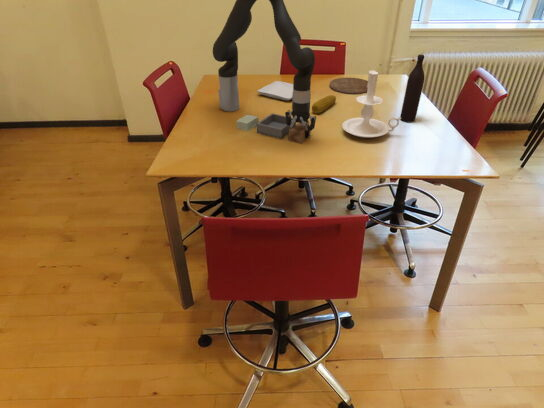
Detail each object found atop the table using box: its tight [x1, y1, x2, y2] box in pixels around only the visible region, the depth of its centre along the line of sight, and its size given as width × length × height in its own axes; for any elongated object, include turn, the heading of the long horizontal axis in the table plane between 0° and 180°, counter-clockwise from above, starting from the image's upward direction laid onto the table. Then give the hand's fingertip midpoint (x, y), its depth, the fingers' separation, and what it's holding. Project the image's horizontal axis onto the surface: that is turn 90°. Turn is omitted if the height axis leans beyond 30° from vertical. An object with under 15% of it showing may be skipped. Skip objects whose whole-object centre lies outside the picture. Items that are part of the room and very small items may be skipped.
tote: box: [255, 112, 297, 140], centre depth 174 cm, size 13×14×4 cm
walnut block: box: [288, 123, 312, 145], centre depth 167 cm, size 6×9×5 cm, turn 148°
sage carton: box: [236, 114, 259, 132], centre depth 178 cm, size 6×9×4 cm, turn 148°
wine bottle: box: [399, 54, 426, 123], centre depth 175 cm, size 7×7×30 cm
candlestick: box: [341, 70, 401, 139], centre depth 164 cm, size 21×25×28 cm
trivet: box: [329, 77, 368, 95], centre depth 222 cm, size 25×25×2 cm
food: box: [311, 94, 337, 115], centre depth 195 cm, size 21×6×6 cm, turn 147°
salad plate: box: [256, 80, 293, 101], centre depth 213 cm, size 21×21×3 cm
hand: (299, 136), depth 168 cm, fingers closed on walnut block, 6 cm apart
